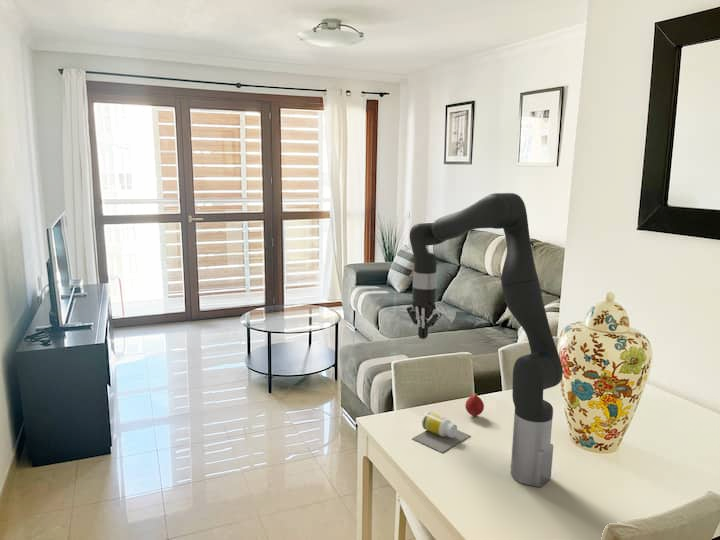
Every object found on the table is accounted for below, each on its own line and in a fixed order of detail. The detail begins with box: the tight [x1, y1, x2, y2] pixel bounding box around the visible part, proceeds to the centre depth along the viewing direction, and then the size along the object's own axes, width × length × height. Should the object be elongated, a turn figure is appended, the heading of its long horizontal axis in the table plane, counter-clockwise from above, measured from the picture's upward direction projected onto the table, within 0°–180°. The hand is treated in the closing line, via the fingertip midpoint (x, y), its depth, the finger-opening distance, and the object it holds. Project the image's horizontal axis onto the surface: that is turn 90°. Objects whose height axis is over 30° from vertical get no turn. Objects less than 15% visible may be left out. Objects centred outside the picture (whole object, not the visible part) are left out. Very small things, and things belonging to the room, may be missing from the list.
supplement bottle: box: [421, 411, 458, 438], centre depth 157 cm, size 5×5×10 cm
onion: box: [465, 393, 485, 418], centre depth 169 cm, size 6×6×8 cm
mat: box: [411, 429, 471, 454], centre depth 156 cm, size 11×14×1 cm
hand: (422, 338), depth 170 cm, fingers closed
